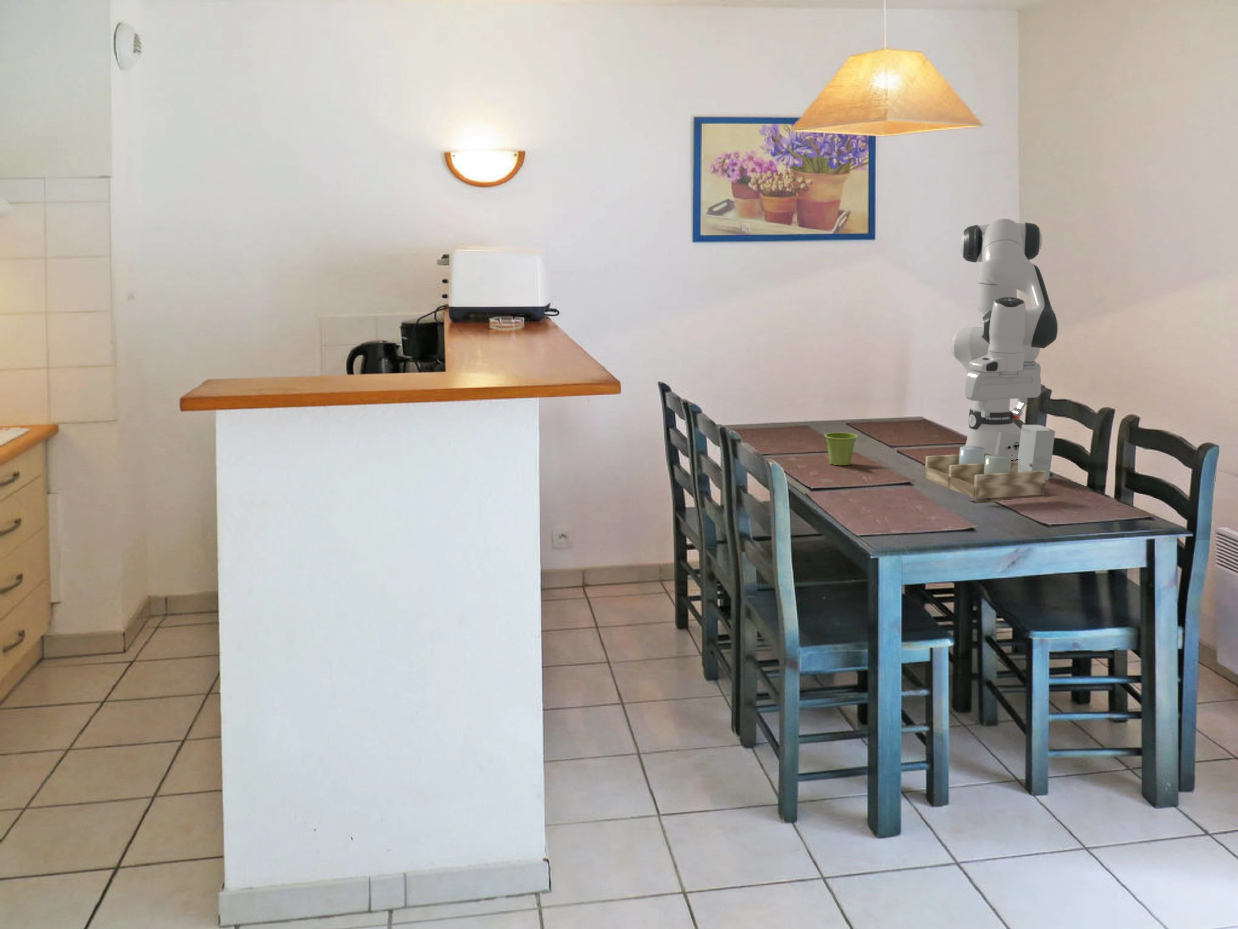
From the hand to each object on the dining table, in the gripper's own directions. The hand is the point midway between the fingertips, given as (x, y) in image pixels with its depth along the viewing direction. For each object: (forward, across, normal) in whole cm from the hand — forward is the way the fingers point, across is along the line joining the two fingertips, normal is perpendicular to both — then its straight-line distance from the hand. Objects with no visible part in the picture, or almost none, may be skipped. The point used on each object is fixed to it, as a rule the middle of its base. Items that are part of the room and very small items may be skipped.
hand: (1001, 416), depth 286 cm
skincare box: (+22, -21, -14) cm, 33 cm away
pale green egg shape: (+20, 0, 0) cm, 20 cm away
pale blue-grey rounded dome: (+20, 0, -12) cm, 23 cm away
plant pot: (+21, +22, -46) cm, 55 cm away
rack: (+21, 0, -6) cm, 22 cm away
